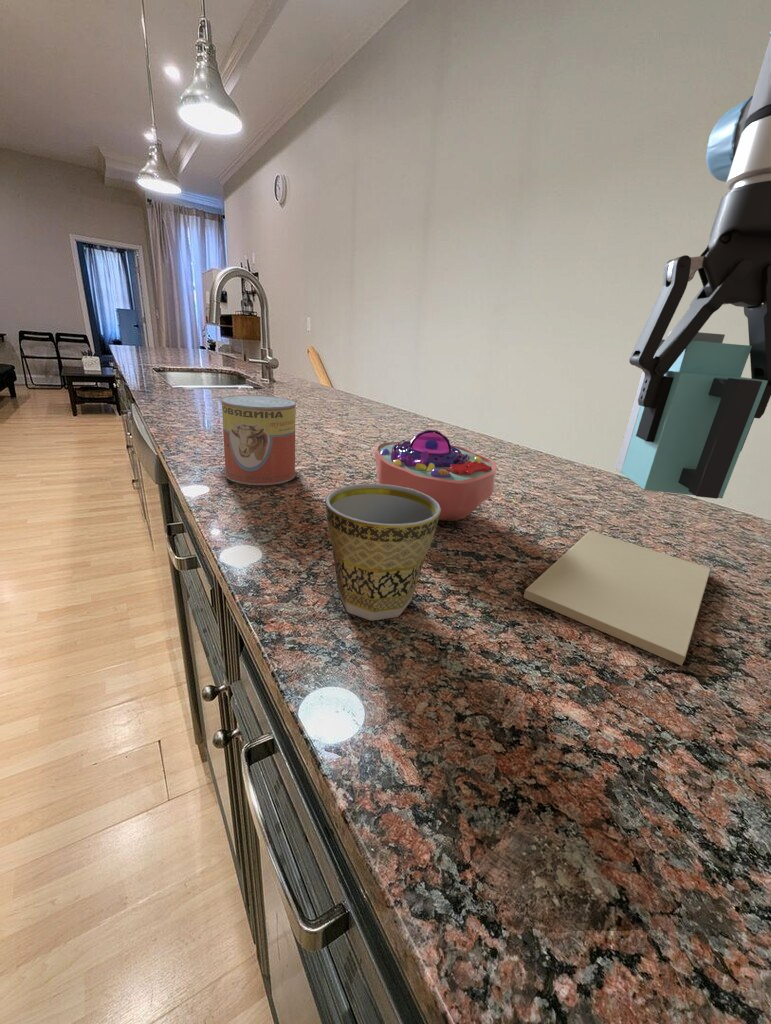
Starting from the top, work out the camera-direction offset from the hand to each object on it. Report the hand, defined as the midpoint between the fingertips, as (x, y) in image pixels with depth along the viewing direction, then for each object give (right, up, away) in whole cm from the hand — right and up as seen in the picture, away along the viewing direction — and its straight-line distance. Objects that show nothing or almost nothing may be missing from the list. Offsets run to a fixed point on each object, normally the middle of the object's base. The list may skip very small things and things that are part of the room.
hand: (686, 443), depth 48 cm
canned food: (-53, -1, +27) cm, 59 cm away
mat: (-6, -16, +2) cm, 17 cm away
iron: (+1, +5, +5) cm, 7 cm away
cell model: (-26, -8, +17) cm, 32 cm away
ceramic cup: (-33, -15, -4) cm, 36 cm away
